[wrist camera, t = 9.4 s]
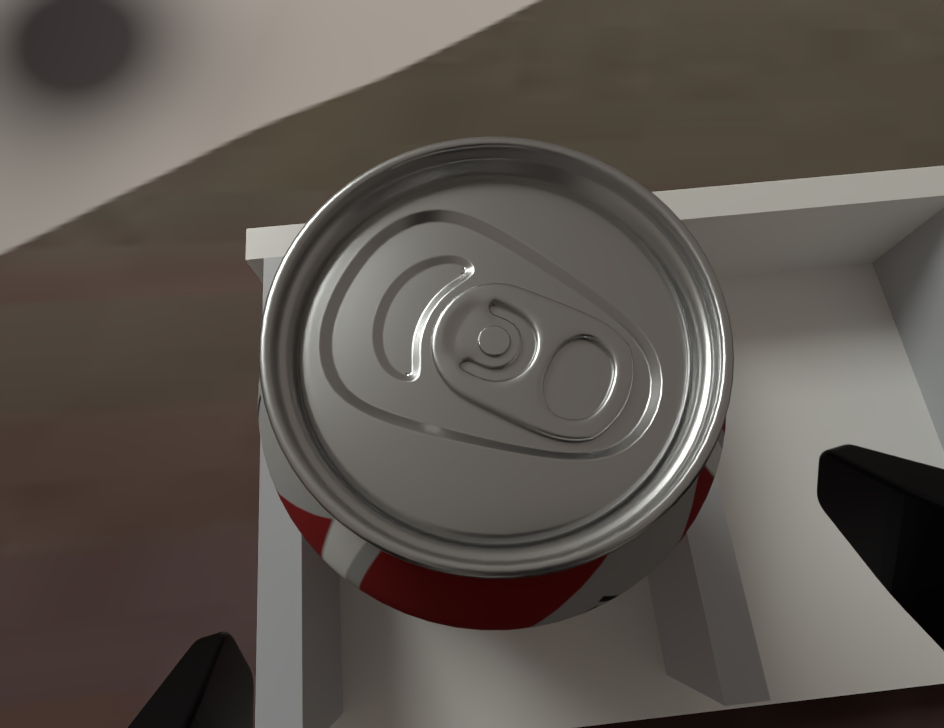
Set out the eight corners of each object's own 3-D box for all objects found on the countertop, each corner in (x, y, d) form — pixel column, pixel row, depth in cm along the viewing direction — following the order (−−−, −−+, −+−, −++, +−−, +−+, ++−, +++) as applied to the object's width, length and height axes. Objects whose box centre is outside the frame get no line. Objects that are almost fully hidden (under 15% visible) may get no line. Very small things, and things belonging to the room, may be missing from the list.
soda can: (434, 345, 20) (377, 35, 8) (623, 429, 19) (854, 207, 7) (333, 534, 18) (77, 465, 6) (540, 641, 17) (681, 786, 5)
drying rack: (1046, 661, 17) (1261, 695, 13) (298, 751, 17) (228, 822, 12) (884, 249, 22) (997, 160, 17) (297, 305, 21) (246, 228, 16)
